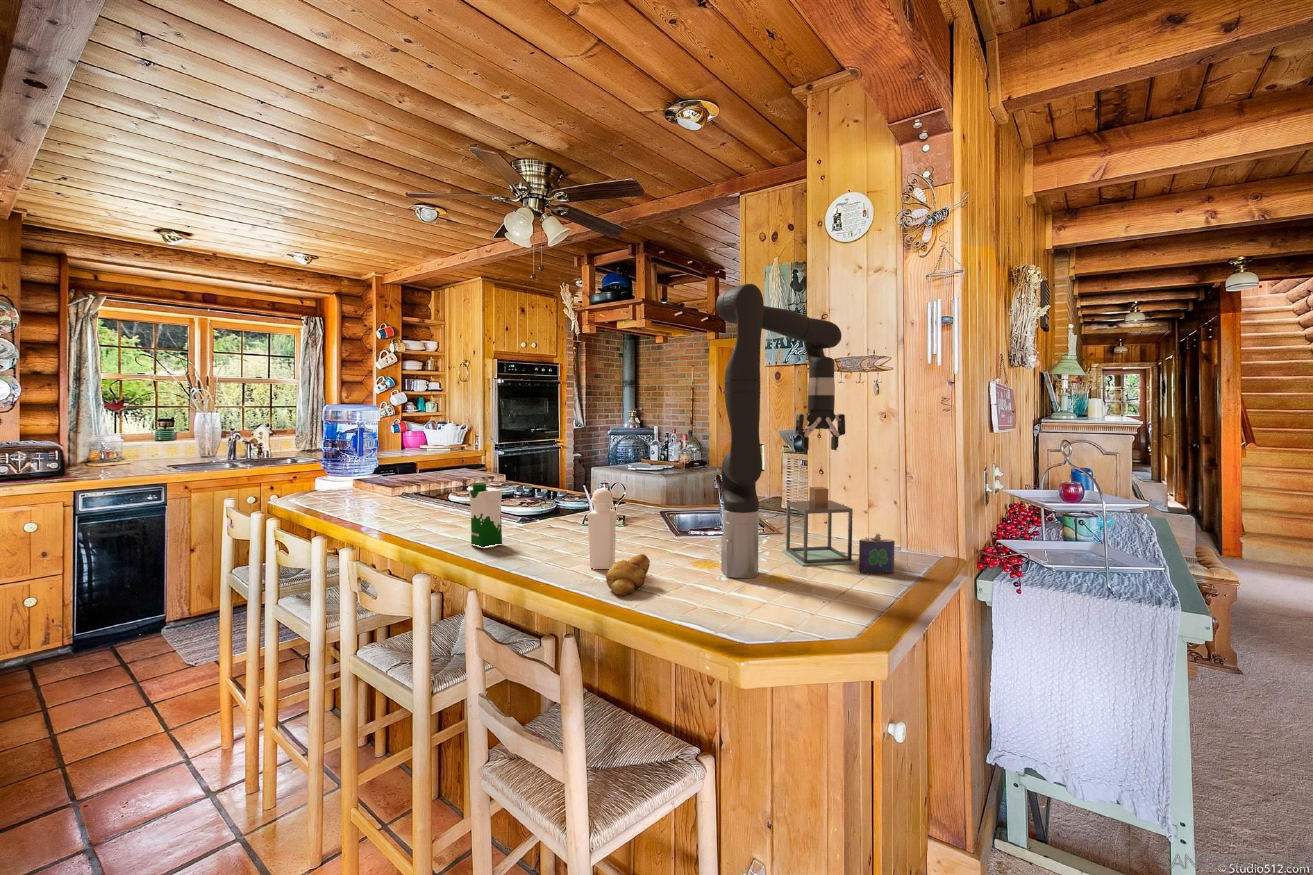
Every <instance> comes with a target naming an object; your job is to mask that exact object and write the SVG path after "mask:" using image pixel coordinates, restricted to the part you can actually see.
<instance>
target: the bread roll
mask: <svg viewBox="0 0 1313 875" xmlns="http://www.w3.org/2000/svg"><path fill="white" fill-rule="evenodd" d="M649 568H650V559H649V557H648V556H647V555H646V554H644V553H640V554H637V555H635V556H634V555H633V556H632V557H631V558H628V560H625V559H621V560H620V561H615V563H614V564H613V565H612V567H611V568H610V569H609V570H607V572H606V574H605V579H606V580H605V581H606V584H607V586H608V588H609V589H610V590H611V589H612V590H611V591H613V593H614V592H615V593H614V594H615V595H618V594H620V596H625V595H624V594H627V595H630V593H631V594H632V593H633V592H634V591H637V590H640V589H641V588H642V587H643V586H644V585H645V583H646V582H645V581H646V577H647V573H648V572H649ZM639 588H640V589H639Z"/></svg>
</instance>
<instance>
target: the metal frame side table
mask: <svg viewBox="0 0 1313 875" xmlns="http://www.w3.org/2000/svg"><path fill="white" fill-rule="evenodd" d="M791 508H792V509H794V510H796V511H799V512H800V513H803V546H802V547H791ZM853 511H854V510H853V508H851V507H848V506H846V505H844V504H842V503H839V502H836V501H834V500H831V499H830V500H829V488H827V487H823V486H809V500H799V501H798V500H795V501H794V500H793V501H791V500H790V501H786V535H785V536H786V538H785V540H786V541H785V542H786V545H785V546H786V547H785V550H786V551H788V552H789V553H790V554H792V555H793V556H795V557H796V558H798V559H799V560H800V561H802V562H803V563H823V562H844V561H852V560H853V557H852V556H853ZM836 513H837V514H839V513H841V514H842V513H847V514H848V516H847V517H848V518H847V521H848V524H847V525H848V526H847V527H848V528H847V555H846V554H845V553H843V552H841V551H839V550H837V549H836V548H834V547H833V546H832V526H833V525H832V520H833V518H832V514H836ZM810 514H811V515H813V514H815V515H816V514H827V545H825V546H808V542H809V541H808V538H809V530H808V529H809V528H808V527H809V526H808V525H809V515H810ZM807 550H830V551H832V552H834V553H836V554H837V555H839V556H841V557H842V558H831V559H809V560H807ZM794 551H804V555H803V557H802V556H800V555H799V554H797V553H796V552H794Z"/></svg>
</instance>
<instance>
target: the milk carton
mask: <svg viewBox="0 0 1313 875" xmlns="http://www.w3.org/2000/svg"><path fill="white" fill-rule="evenodd" d="M468 495H469V503H470V528H471V529H470V530H471V532H470V540H471V541H470V545H471V544H475V545H479V546H481V547H485V546H489V545H495V544H502V545H503V533H502V532H503V531H502V496H503V489H500V488H494V487H487V484H486V483H485V482H478V483H477V482H476V483H473V484H472V489H468Z"/></svg>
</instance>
